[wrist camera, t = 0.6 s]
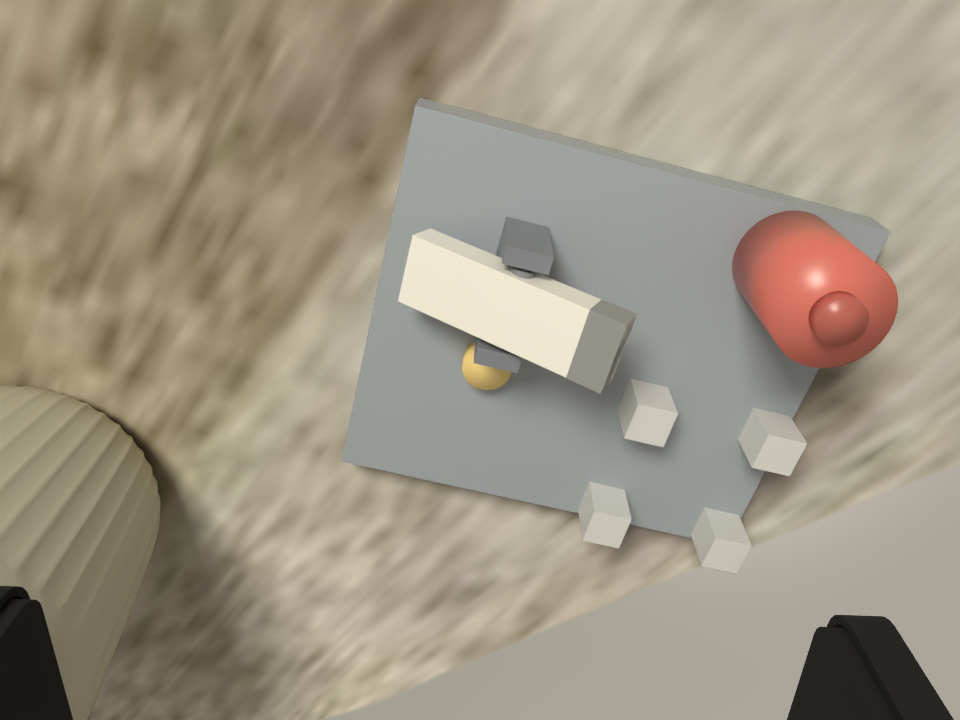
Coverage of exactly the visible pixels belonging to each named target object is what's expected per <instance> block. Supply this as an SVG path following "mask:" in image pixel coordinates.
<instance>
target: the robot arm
mask: <svg viewBox="0 0 960 720" xmlns="http://www.w3.org/2000/svg"><path fill="white" fill-rule="evenodd" d="M0 720H73V717H72V713H71V710H70V706H69V703H68V699H67V695H66V692H65V688H64V684H63V681H62V677H61V673H60V670H59V666H58V663H57V659H56V655H55V652H54V648H53V644H52V641H51V637H50V634H49V630H48V626H47V623H46V619H45V615H44V612H43V608H42V606H41V604H40V602H39V601H37V600H32V599H30V597H29V594H28V592H27V590H25V589H24V588H23V587H18V586H0ZM787 720H953V718H952V716H951V715H950V713H949V711H948V710H947V708H946V707H945V705H944V704H943V702H942V700H941V699H940V697H939V696H938V694H937V693H936V691H935V689H934V688H933V686H932V685H931V683H930V682H929V680H928V678H927V677H926V675H925V673H924V672H923V670H922V669H921V667H920V666H919V664H918V662H917V661H916V659H915V658H914V656H913V654H912V653H911V651H910V650H909V648H908V647H907V645H906V644H905V642H904V640H903V639H902V637H901V635H900V634H899V632H898V631H897V629H896V628H895V626H894V625H893V624H892V623H891V621H890V620H888V619H887V618H885V617H881V616H851V615H835V616H833V617H832V618H831V619H830V621H829V623H828V625H827V627H819V628H818V629H816V632H815V633H814V636H813V639H812V642H811V646H810V649H809V652H808V655H807V658H806V661H805V665H804V668H803V671H802V674H801V677H800V681H799V684H798V687H797V690H796V693H795V696H794V699H793V703H792V706H791V709H790V712H789V715H788V718H787Z"/></svg>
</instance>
